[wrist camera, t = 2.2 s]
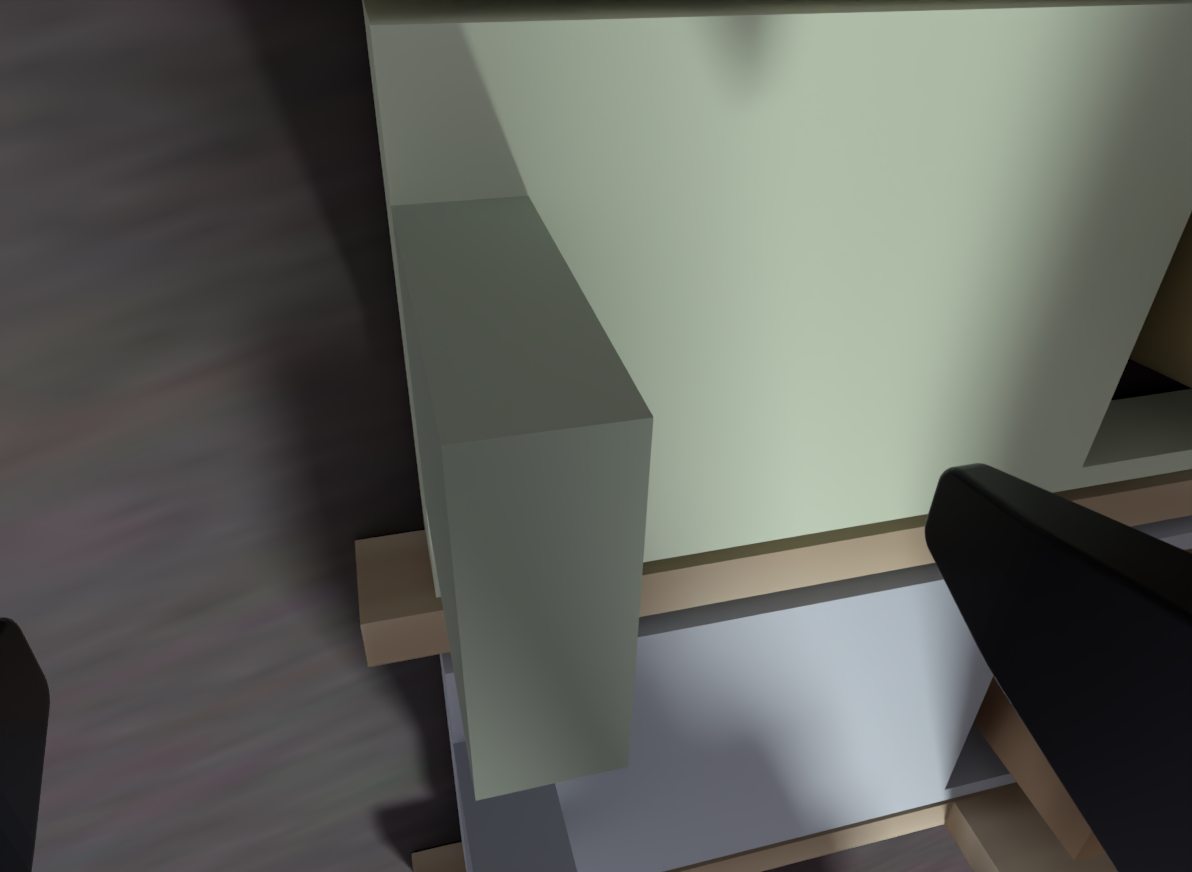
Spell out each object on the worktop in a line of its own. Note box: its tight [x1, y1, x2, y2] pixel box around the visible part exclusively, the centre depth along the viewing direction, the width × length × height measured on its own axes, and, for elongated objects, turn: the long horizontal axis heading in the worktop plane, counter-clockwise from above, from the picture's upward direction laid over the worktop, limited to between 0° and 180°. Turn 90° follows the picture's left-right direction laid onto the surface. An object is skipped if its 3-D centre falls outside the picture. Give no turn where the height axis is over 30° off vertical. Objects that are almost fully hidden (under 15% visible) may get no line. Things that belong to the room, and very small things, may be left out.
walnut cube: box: [973, 549, 1192, 861], centre depth 20 cm, size 5×5×5 cm
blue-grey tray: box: [440, 515, 1192, 872], centre depth 18 cm, size 8×20×7 cm, turn 88°
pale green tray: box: [362, 0, 1192, 801], centre depth 12 cm, size 8×20×7 cm, turn 88°
